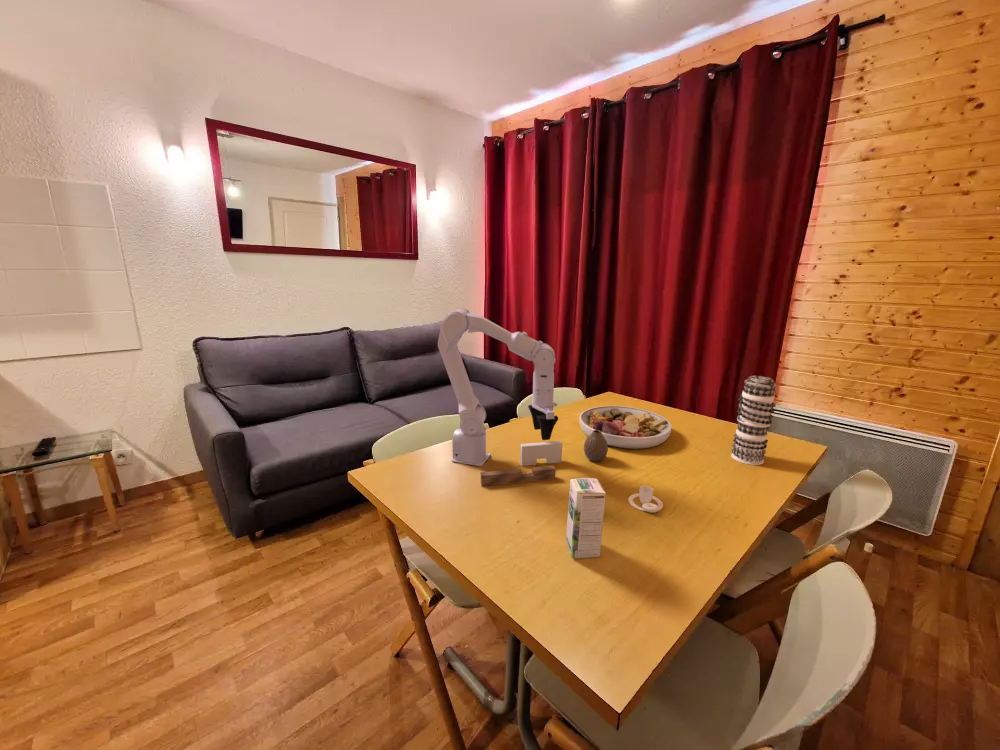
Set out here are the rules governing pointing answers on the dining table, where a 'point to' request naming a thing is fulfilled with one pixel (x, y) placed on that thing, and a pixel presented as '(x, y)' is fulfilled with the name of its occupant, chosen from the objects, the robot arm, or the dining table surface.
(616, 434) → the bowl
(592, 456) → the vase
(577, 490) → the syrup box
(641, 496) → the teacup and saucer
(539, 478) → the walnut rail
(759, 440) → the decorative candle
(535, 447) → the notched white slab
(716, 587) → the dining table surface
